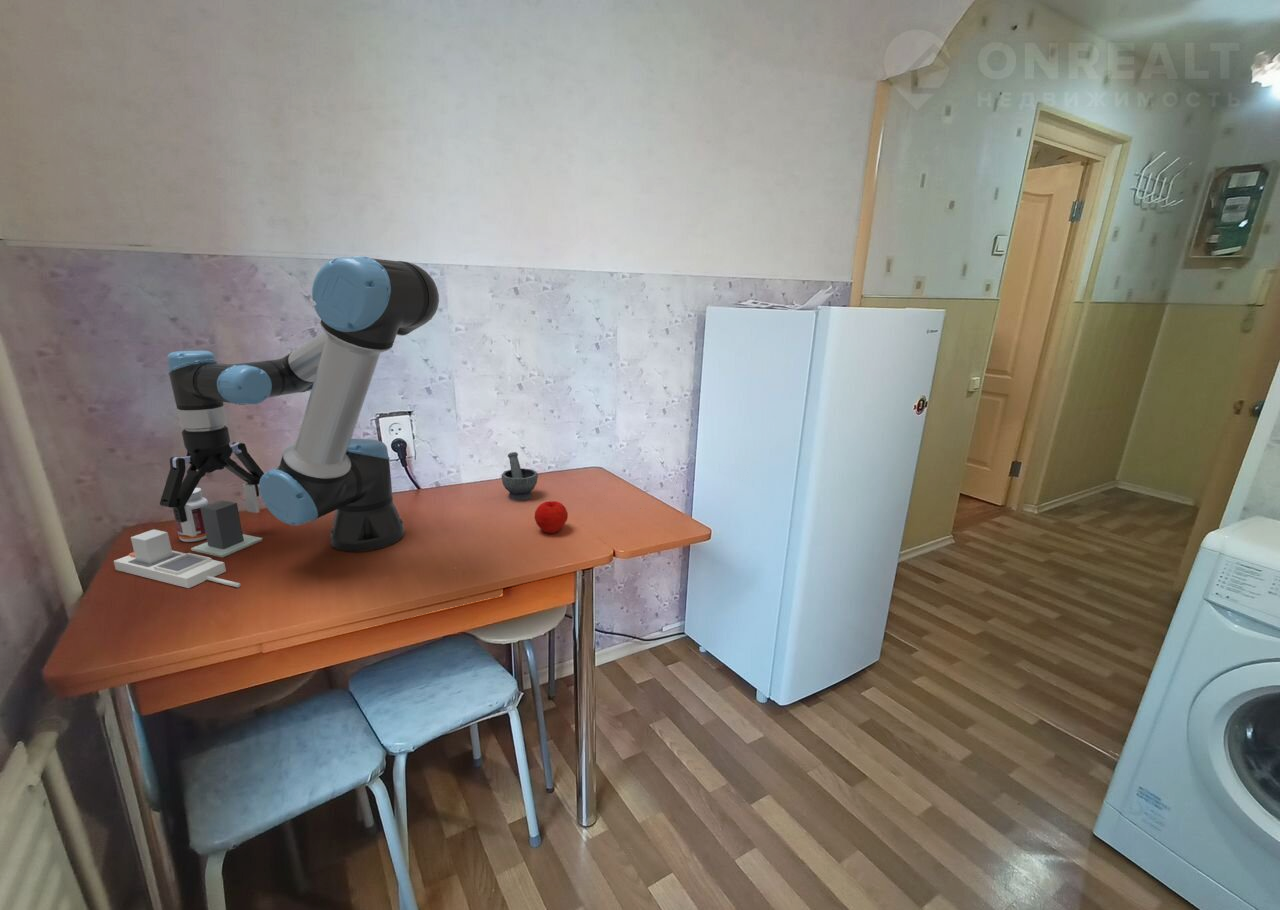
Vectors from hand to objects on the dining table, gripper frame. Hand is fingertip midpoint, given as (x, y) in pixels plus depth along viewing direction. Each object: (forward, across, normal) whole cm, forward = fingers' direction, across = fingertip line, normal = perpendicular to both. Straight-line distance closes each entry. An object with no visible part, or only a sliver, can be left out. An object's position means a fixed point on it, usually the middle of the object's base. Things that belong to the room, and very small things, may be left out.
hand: (223, 522), depth 117 cm
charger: (+5, 0, 0) cm, 5 cm away
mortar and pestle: (+6, -51, +43) cm, 67 cm away
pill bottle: (+6, -1, -10) cm, 12 cm away
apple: (+6, -33, +62) cm, 70 cm away
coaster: (+5, 0, 0) cm, 5 cm away
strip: (+5, +12, +5) cm, 14 cm away
